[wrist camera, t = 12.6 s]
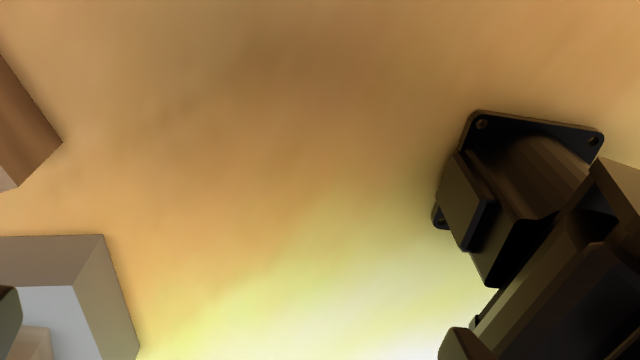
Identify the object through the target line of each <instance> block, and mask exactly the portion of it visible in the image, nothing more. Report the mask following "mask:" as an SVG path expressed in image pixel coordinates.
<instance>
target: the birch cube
mask: <svg viewBox="0 0 640 360" xmlns="http://www.w3.org/2000/svg"><path fill="white" fill-rule="evenodd" d="M6 360H55V359H54V353H53V347H52V341H51V335H50V330H49V328H46V327H35V326H24V325H21V328H20V330H19V332H18V334H17V336H16V339H15V341H14V343H13V345H12V348H11V350H10V352H9V354H8V356H7V359H6Z"/></svg>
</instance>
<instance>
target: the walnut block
mask: <svg viewBox="0 0 640 360" xmlns="http://www.w3.org/2000/svg"><path fill="white" fill-rule="evenodd" d="M62 143H63V142H62V140H61V139H60V137H59V136H58V135H57V133H56V132H55V130H54V129H53V128H52V126H51V125H50V123H49V122H48V121H47V119H46V118H45V116H44V115H43V114H42V112H41V111H40V109H39V108H38V107H37V105H36V104H35V102H34V101H33V100H32V98H31V97H30V95H29V94H28V93H27V91H26V90H25V88H24V87H23V86H22V84H21V83H20V81H19V80H18V79H17V77H16V76H15V74H14V73H13V72H12V70H11V69H10V67H9V66H8V65H7V63H6V62H5V60H4V59H3V58H2V56H1V55H0V193H1V192H4V191H8V190H11V189H14V188H17V187H19V186H20V185H21V184H22V183H23V182H24V181H25V180H26V179H27V178H28V177H29V176H30V175H31V174H32V173H33V172H34V171H35V170H36V169H37V168H38V167H39V166H40V165H41V164H42V163H43V162H44V161H45V160H46V159H47V158H48V157H49V156H50V155H51V154H52V153H53V152H54V151H55V150H56V149H57V148H58V147H59V146H60V145H61V144H62Z"/></svg>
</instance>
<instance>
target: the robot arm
mask: <svg viewBox="0 0 640 360" xmlns="http://www.w3.org/2000/svg"><path fill="white" fill-rule="evenodd" d="M481 119H484V122H483V124H481V125H480V126H476V123H477V122H478V121H479V120H481ZM592 137H594V138H593V140H592V141H590V142H588V140H589V139H590V138H592ZM603 142H604V135H603V134H602V133H601V132H600V131H598V130H597V129H594V128H589V127H583V126H577V125H571V124H564V123H558V122H552V121H546V120H539V119H533V118H527V117H520V116H514V115H508V114H502V113H495V112H489V111H476V112H474V113H473V114H472V115H471V116H470V117H469V119H468V122H467V124H466V127H465V129H464V132H463V135H462V137H461V140H460V142H459V145H458V148H457V150H456V151H455V152H454V153H452V154H451V156H450V158H449V161H448V163H447V166H446V169H445V171H444V174H443V177H442V179H441V182H440V185H439V187H438V190H437V192H436V195H435V197H436V200H437V202H436V205H435V207H434V210H433V213H432V215H431V220H432V223H433V225H434V227H436V228H438V229H443V230H451V232H452V234H453V236H454V239H455V241H456V243H457V245H458V247H459V248H460V250H461V251H462V252H464V253H469V254H470V256H471V258H472V260H473V262H474V264H475V266H476V269H477V271H478V273H479V275H480V277H481V279H482V281H483V283H484V285H485V286H486V287H489V288H498V289H499V290H498V291H497V293H496V294H495V295H494V296H493V298H492V299H491V300H490V302H489V303H488V304H487V305H486V307H485V308H484V309H483V311H482V312H481V313H480V314H479V315H475V317H474V318H473V319H472V320H471V322H470V323H469V329H468V328H462V327H451V328H450V329H449V330H448V332H447V334H446V336H445V338H444V340H443V342H442V344H441V346H440V348H439V351H438V360H640V170H637V169H634V168H632V167H629V166H626V165H623V164H620V163H617V162H614V161H611V160H608V159H605V158H602V157H597V158H596V160H595V161H594V162H593V164H592V165H591V163H592V161H593V160H594V158H595V156H596V154H597V153H598V151H599V149H600V147H601V146H602V144H603ZM590 165H591V166H590ZM443 217H444V219H443V220H442V221H438V220H439V219H440V218H443ZM22 322H23V311H22V307H21V303H20V299H19V295H18V291H17V289H16V288H15V287H14V286H11V285H1V284H0V360H6V359H7V356H8V354H9V352H10V350H11V348H12V345H13V343H14V341H15V339H16V336H17V334H18V332H19V330H20V328H21V325H22Z"/></svg>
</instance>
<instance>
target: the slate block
mask: <svg viewBox="0 0 640 360" xmlns="http://www.w3.org/2000/svg"><path fill="white" fill-rule="evenodd" d="M0 284H1V285H11V286H14V287H15V288H16V289H17V291H18V295H19V299H20V303H21V307H22V311H23V322H22V325H24V326H35V327H46V328H49V330H50V335H51V341H52V347H53V353H54V359H55V360H135V359H136V356H137V354H138V351H139V348H140V344H139V341H138V338H137V335H136V332H135V329H134V326H133V323H132V320H131V317H130V314H129V311H128V308H127V305H126V302H125V299H124V296H123V293H122V290H121V287H120V284H119V281H118V278H117V275H116V272H115V269H114V266H113V263H112V260H111V257H110V254H109V251H108V248H107V245H106V242H105V239H104V236H103V234H95V235H54V236H13V237H0Z"/></svg>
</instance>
